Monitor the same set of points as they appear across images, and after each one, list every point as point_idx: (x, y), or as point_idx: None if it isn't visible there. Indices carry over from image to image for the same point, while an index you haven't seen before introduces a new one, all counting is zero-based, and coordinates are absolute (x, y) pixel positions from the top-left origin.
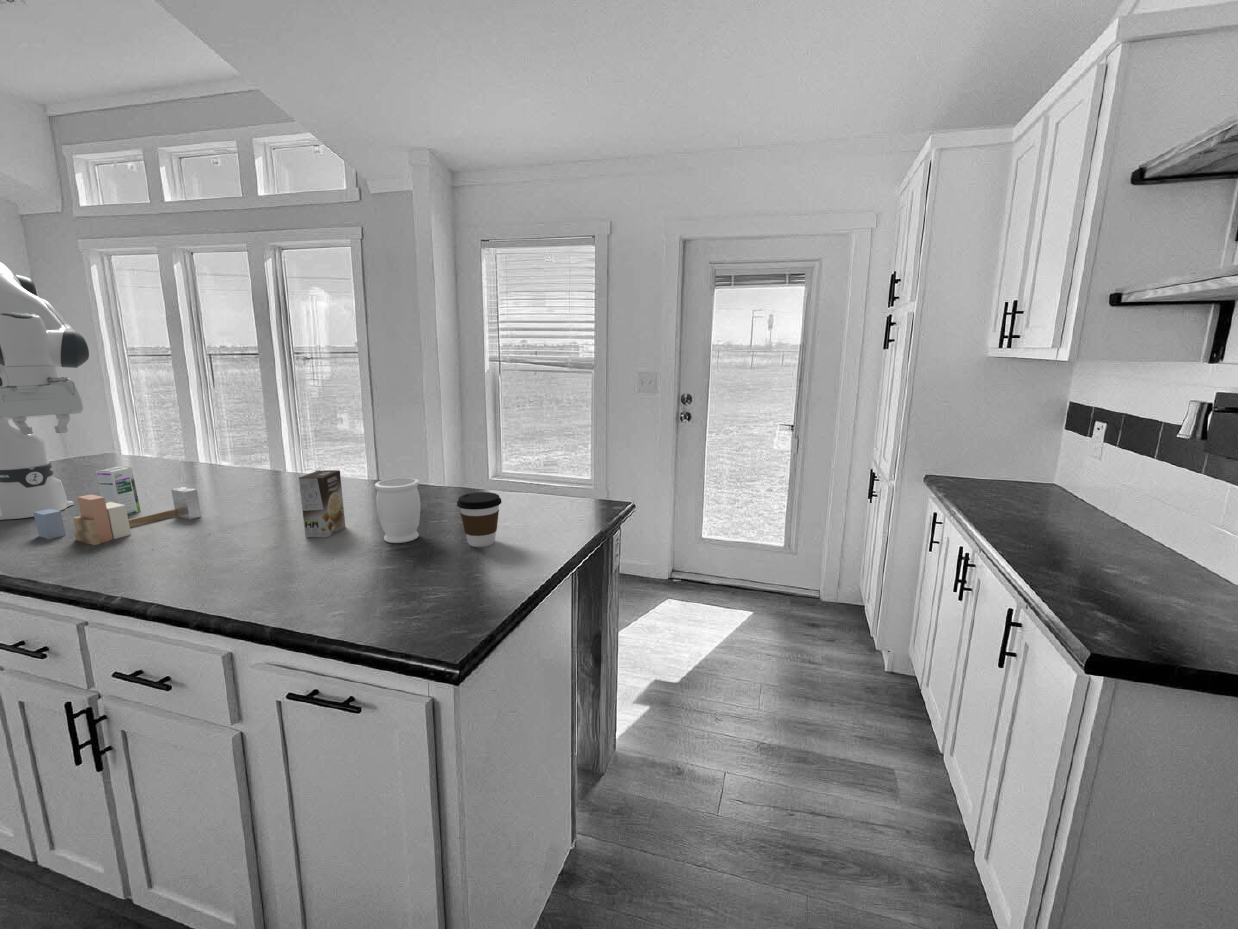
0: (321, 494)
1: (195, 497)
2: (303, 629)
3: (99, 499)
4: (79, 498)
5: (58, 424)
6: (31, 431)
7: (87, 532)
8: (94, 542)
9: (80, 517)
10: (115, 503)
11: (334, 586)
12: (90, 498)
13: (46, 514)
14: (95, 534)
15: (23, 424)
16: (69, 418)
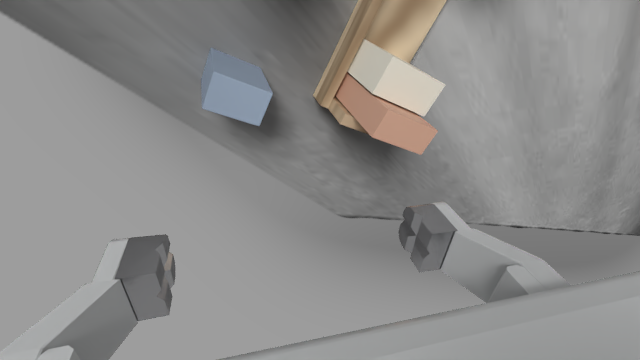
0: None
1: None
2: (602, 229)
3: (429, 138)
4: (379, 139)
5: (457, 277)
6: (163, 250)
7: None
8: None
9: (356, 122)
10: (414, 72)
11: (636, 176)
12: (412, 143)
13: (261, 119)
14: None
15: (101, 329)
16: (539, 262)
